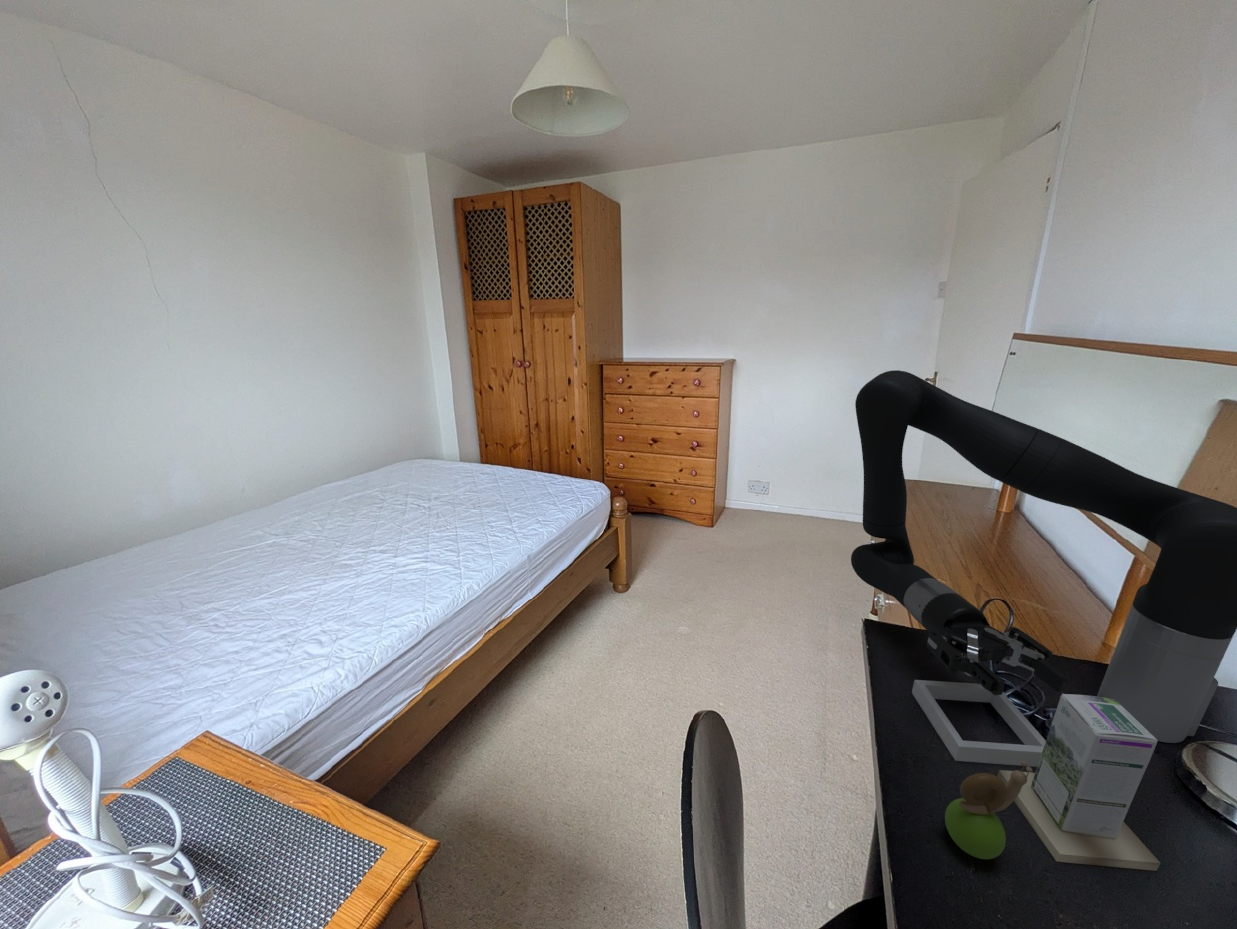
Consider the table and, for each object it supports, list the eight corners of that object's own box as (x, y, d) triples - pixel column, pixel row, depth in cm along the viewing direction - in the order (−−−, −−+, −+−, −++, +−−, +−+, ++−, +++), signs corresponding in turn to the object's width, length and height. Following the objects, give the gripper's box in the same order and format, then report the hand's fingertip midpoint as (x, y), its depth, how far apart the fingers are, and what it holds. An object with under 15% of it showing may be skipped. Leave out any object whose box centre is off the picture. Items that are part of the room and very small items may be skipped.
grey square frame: (992, 697, 74) (996, 684, 74) (1051, 768, 63) (1057, 753, 62) (911, 692, 76) (914, 679, 75) (955, 760, 64) (959, 746, 63)
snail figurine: (1021, 872, 52) (1051, 789, 48) (960, 871, 52) (986, 788, 48) (984, 820, 57) (1010, 742, 53) (930, 820, 57) (951, 742, 53)
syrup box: (1118, 841, 53) (1164, 740, 49) (1058, 831, 54) (1097, 732, 50) (1081, 792, 59) (1119, 697, 54) (1027, 784, 60) (1059, 691, 55)
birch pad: (1080, 783, 61) (1083, 776, 61) (1156, 870, 52) (1160, 862, 51) (996, 776, 62) (999, 769, 62) (1056, 861, 52) (1059, 853, 52)
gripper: (904, 593, 75) (986, 667, 60) (990, 589, 76) (1093, 661, 60) (895, 633, 77) (973, 714, 62) (979, 629, 78) (1076, 708, 63)
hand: (1032, 688), depth 61 cm, fingers open, 8 cm apart
